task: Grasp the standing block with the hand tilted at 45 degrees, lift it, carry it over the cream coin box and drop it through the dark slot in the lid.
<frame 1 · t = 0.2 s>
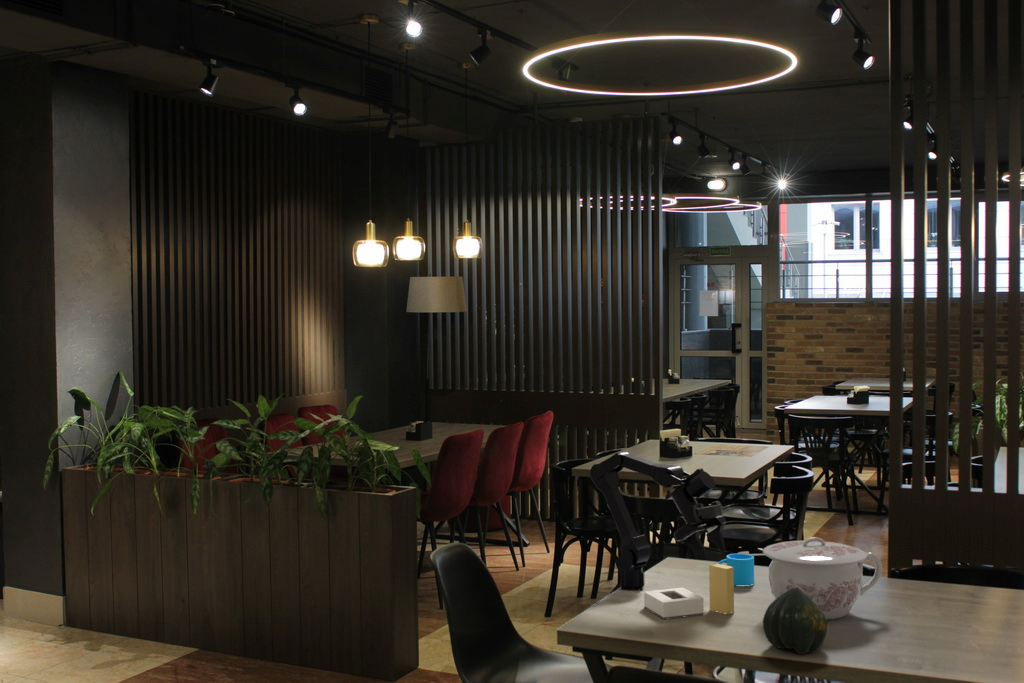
hand: (715, 555, 282), 14 cm above the table, tool tilted 35°, fingers open, 9 cm apart
chamber pot: (816, 614, 273), on the table
coin box: (673, 611, 277), on the table
mug: (734, 584, 306), on the table
block: (721, 611, 276), on the table
squash: (795, 649, 244), on the table
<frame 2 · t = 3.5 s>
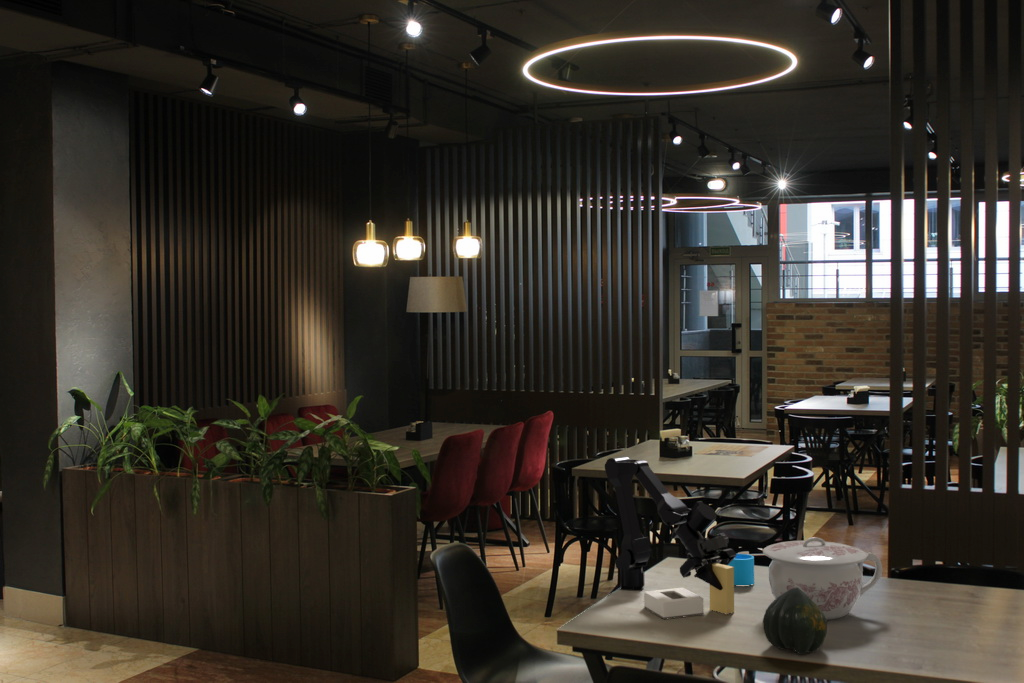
hand: (725, 588, 275), 7 cm above the table, tool tilted 45°, fingers closed on block, 3 cm apart
block: (721, 611, 276), on the table, touching gripper
everything else where it was.
when the fingers open (13 cm above the table, at t = 7.3 s): block drops 6 cm, resting on coin box.
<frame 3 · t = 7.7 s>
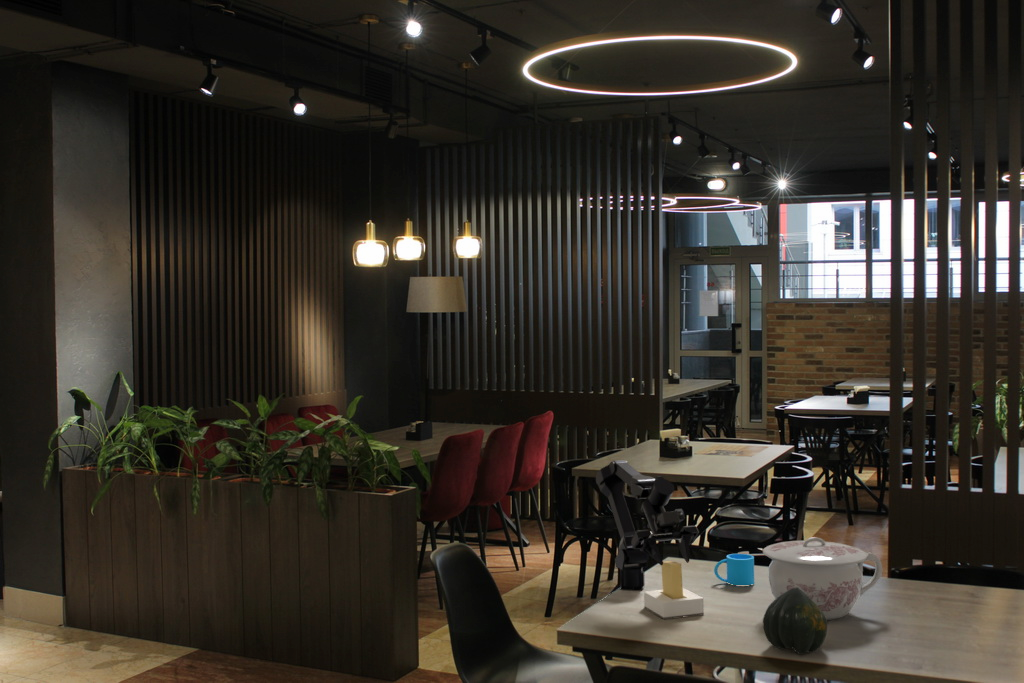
hand: (675, 563, 276), 14 cm above the table, tool tilted 45°, fingers open, 8 cm apart
block: (673, 608, 277), point 1 cm above the table, touching coin box
everything else where it was.
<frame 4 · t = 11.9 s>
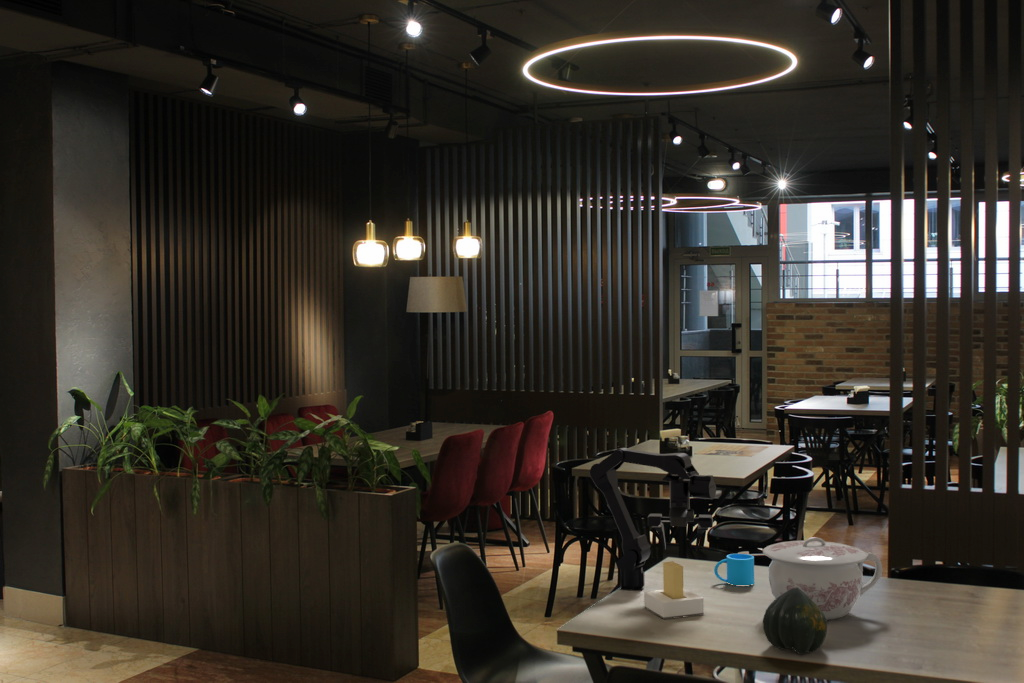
hand: (680, 549, 294), 13 cm above the table, tool pointing down, fingers open, 9 cm apart
at the end: block inside the target area on the coin box (0.1 cm from its centre), point 0.5 cm above the coin box's base; the gripper is holding nothing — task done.
